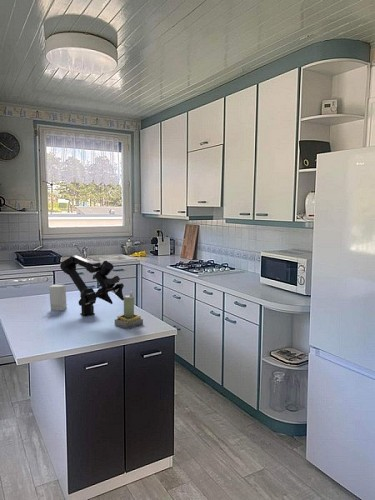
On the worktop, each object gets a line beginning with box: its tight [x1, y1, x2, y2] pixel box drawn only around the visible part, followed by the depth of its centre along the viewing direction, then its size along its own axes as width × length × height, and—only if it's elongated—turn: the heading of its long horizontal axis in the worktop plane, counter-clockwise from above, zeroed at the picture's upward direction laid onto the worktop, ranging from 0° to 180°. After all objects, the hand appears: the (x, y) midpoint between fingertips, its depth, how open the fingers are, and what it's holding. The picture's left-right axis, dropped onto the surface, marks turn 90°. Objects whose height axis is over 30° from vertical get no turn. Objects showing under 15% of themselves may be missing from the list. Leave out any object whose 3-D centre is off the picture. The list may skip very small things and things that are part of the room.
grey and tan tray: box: [114, 313, 144, 330], centre depth 213 cm, size 11×11×4 cm
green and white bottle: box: [123, 291, 135, 319], centre depth 213 cm, size 6×6×15 cm
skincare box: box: [48, 284, 68, 312], centre depth 243 cm, size 8×7×16 cm
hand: (117, 301), depth 217 cm, fingers open, 9 cm apart
